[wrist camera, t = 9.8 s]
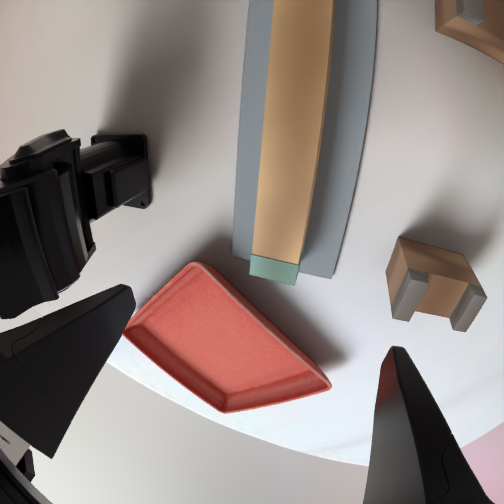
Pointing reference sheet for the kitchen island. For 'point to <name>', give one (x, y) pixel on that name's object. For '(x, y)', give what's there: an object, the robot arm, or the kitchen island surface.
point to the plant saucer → (221, 344)
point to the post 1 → (473, 24)
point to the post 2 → (433, 284)
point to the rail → (291, 134)
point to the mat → (333, 138)
